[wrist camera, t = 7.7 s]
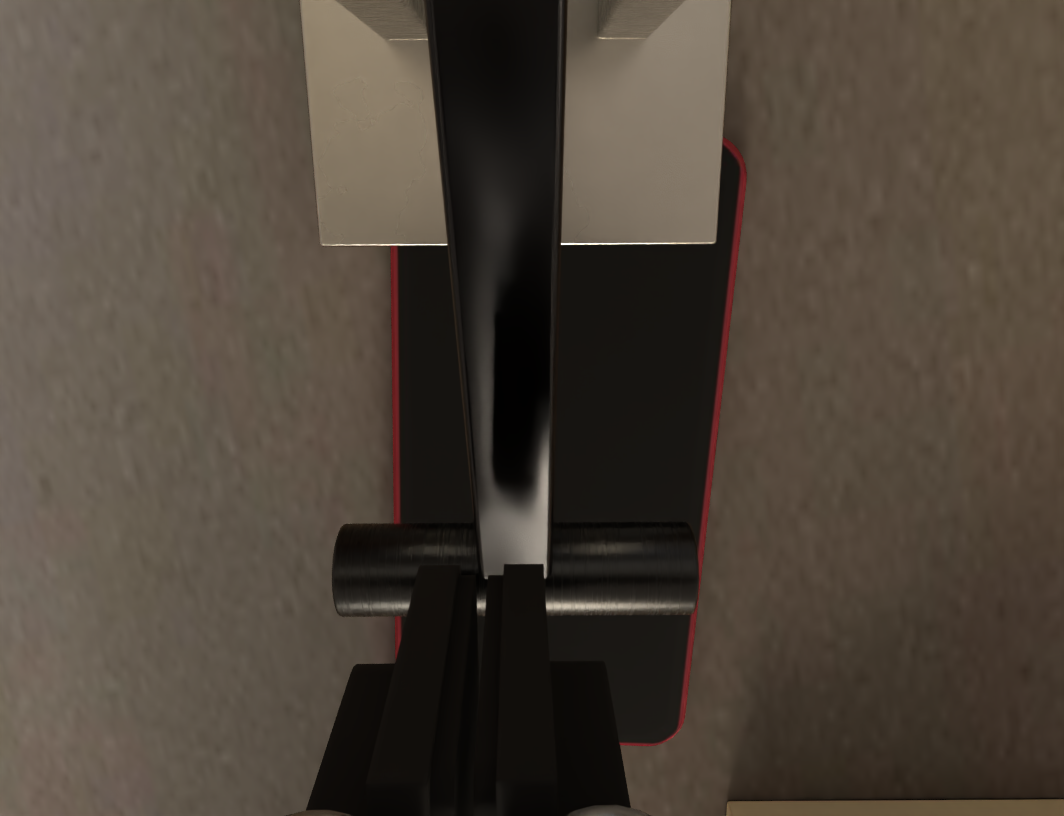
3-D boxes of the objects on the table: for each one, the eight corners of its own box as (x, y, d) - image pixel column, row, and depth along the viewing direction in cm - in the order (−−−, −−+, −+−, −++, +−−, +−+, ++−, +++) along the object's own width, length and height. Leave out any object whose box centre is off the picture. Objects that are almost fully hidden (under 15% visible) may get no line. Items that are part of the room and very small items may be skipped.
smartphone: (753, 134, 16) (682, 750, 21) (742, 135, 17) (676, 726, 21) (387, 118, 16) (395, 740, 20) (394, 120, 17) (401, 716, 21)
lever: (675, 530, 14) (694, 660, 12) (360, 533, 14) (338, 662, 12) (1053, -1207, 4) (1467, -1814, 2) (-118, -1201, 4) (-625, -1803, 2)
